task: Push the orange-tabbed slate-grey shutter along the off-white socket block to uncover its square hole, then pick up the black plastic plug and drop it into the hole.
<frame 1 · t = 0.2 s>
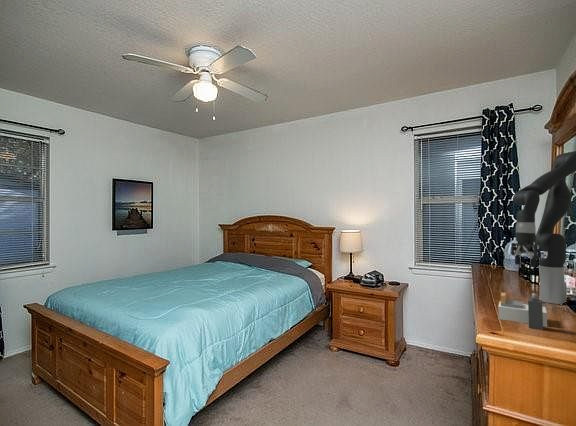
hand: (525, 265, 148), 18 cm above the table, tool pointing down, fingers open, 8 cm apart
shutter: (511, 300, 125), point 7 cm above the table, slide at 0.0 cm
socket block: (521, 319, 123), on the table
plug: (535, 327, 114), on the table
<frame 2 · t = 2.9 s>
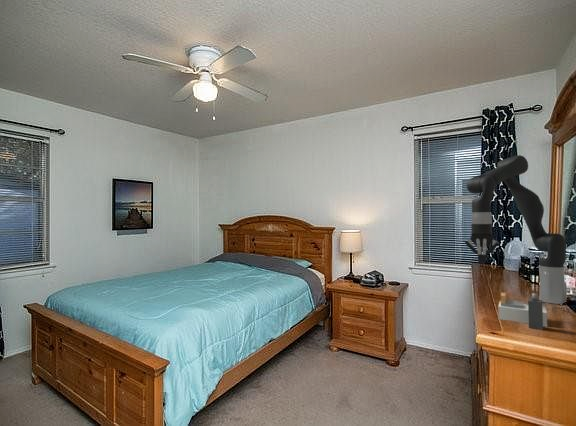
hand: (482, 263, 132), 21 cm above the table, tool pointing down, fingers closed
nothing on the table moved.
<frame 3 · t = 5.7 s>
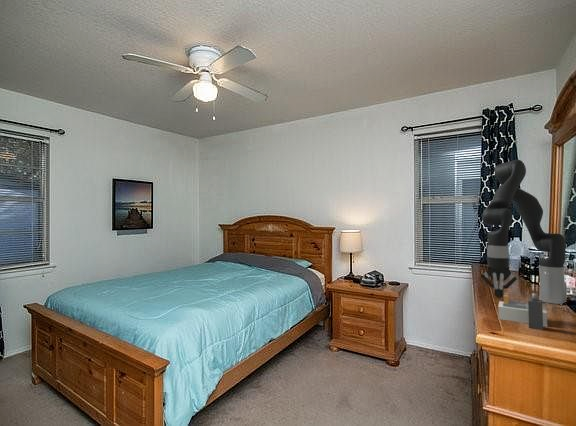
hand: (499, 297, 128), 7 cm above the table, tool pointing down, fingers closed
shutter: (514, 300, 125), point 7 cm above the table, slide at 1.0 cm, touching gripper
everything else where it was.
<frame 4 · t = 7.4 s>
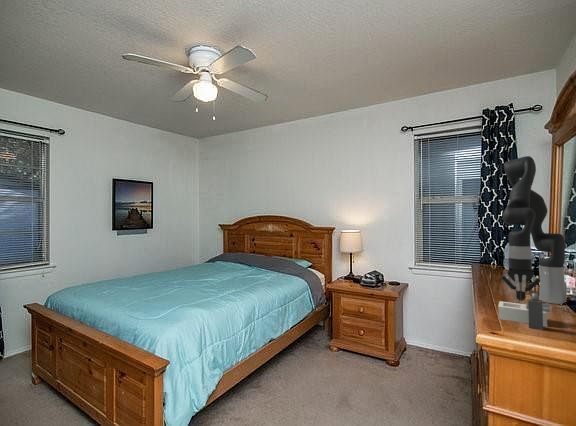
hand: (520, 300, 124), 7 cm above the table, tool pointing down, fingers closed
shutter: (537, 303, 120), point 7 cm above the table, slide at 8.2 cm, touching gripper
everything else where it was.
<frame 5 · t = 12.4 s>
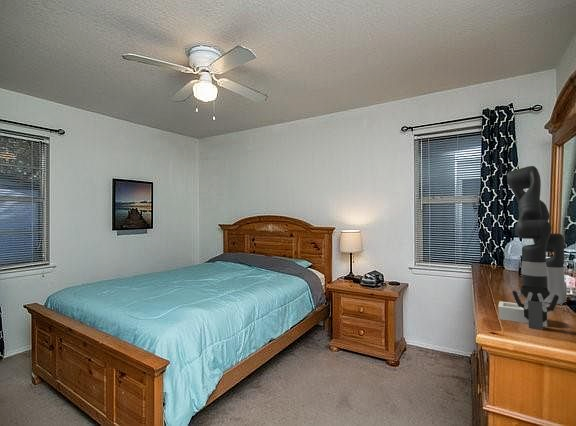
hand: (535, 319, 114), 3 cm above the table, tool pointing down, fingers closed on plug, 4 cm apart
shutter: (537, 303, 120), point 7 cm above the table, slide at 8.3 cm
plug: (535, 327, 114), on the table, touching gripper
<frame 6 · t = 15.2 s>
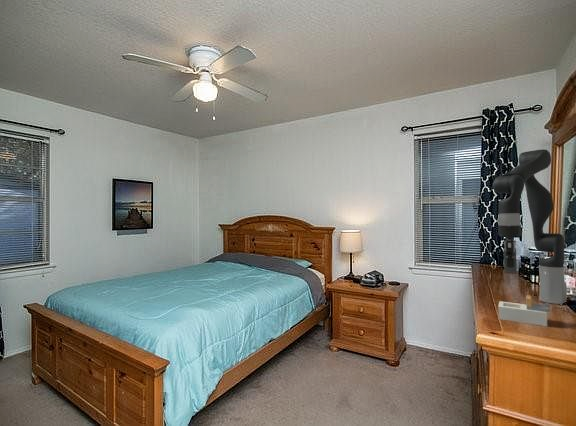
hand: (510, 266, 126), 21 cm above the table, tool pointing down, fingers closed on plug, 4 cm apart
plug: (510, 273, 126), point 18 cm above the table, touching gripper
everything else where it was.
when the fingers open (6 cm above the table, at t = 18.2 s): plug drops 3 cm, resting in socket block.
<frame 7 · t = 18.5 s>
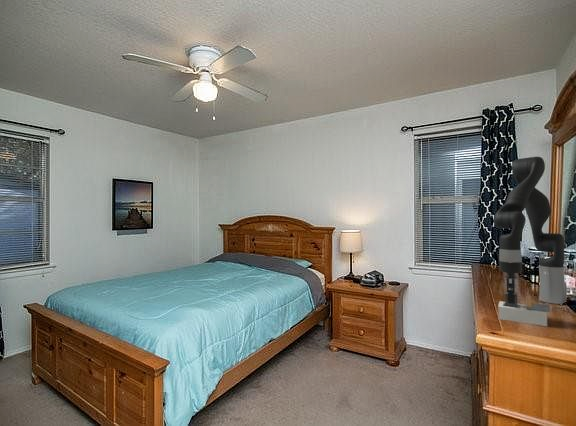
hand: (511, 301, 125), 7 cm above the table, tool pointing down, fingers open, 6 cm apart
plug: (511, 317, 125), resting in socket block
everything else where it was.
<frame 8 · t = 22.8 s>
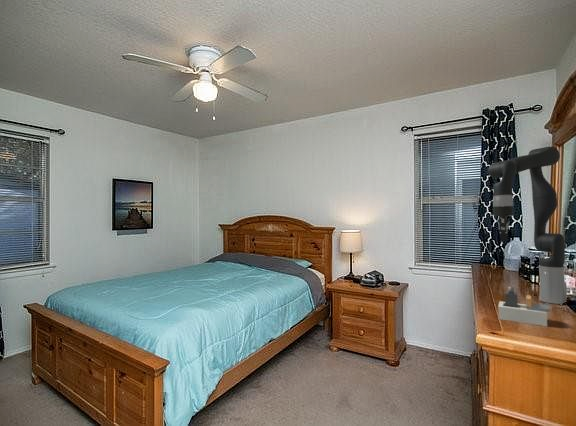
hand: (504, 241, 138), 30 cm above the table, tool pointing down, fingers open, 8 cm apart
nothing on the table moved.
at the end: shutter slide at 8.3 cm; plug 0.2 cm from the target spot on the socket block, point 0.0 cm above the socket block's base; plug tilted 0° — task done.
